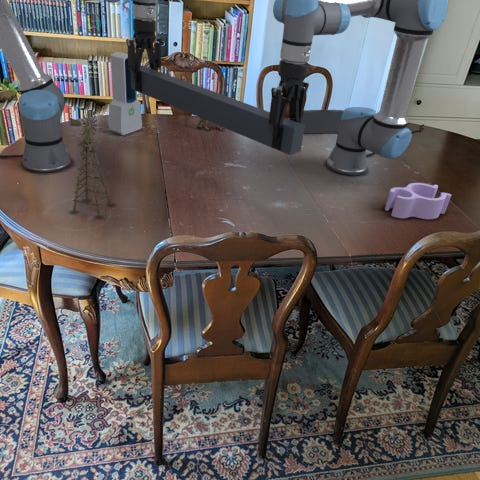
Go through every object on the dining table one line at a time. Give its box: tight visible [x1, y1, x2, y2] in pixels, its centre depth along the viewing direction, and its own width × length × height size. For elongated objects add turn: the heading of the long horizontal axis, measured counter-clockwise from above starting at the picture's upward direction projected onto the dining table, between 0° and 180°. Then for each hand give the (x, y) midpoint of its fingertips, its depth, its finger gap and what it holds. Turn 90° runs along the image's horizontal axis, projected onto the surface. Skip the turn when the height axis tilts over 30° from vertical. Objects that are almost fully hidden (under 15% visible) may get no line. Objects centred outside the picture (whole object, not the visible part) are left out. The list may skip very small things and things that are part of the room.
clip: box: [384, 182, 452, 220], centre depth 153 cm, size 20×12×7 cm, turn 109°
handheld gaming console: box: [299, 109, 345, 134], centre depth 210 cm, size 23×3×10 cm, turn 108°
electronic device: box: [107, 51, 143, 136], centre depth 184 cm, size 12×8×30 cm, turn 148°
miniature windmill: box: [69, 107, 112, 218], centre depth 129 cm, size 9×8×30 cm
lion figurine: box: [196, 117, 223, 131], centre depth 201 cm, size 15×5×9 cm, turn 110°
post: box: [131, 64, 305, 156], centre depth 148 cm, size 72×5×8 cm, turn 47°
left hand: (144, 89), depth 166 cm, fingers closed on post, 5 cm apart
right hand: (282, 145), depth 133 cm, fingers closed on post, 5 cm apart
